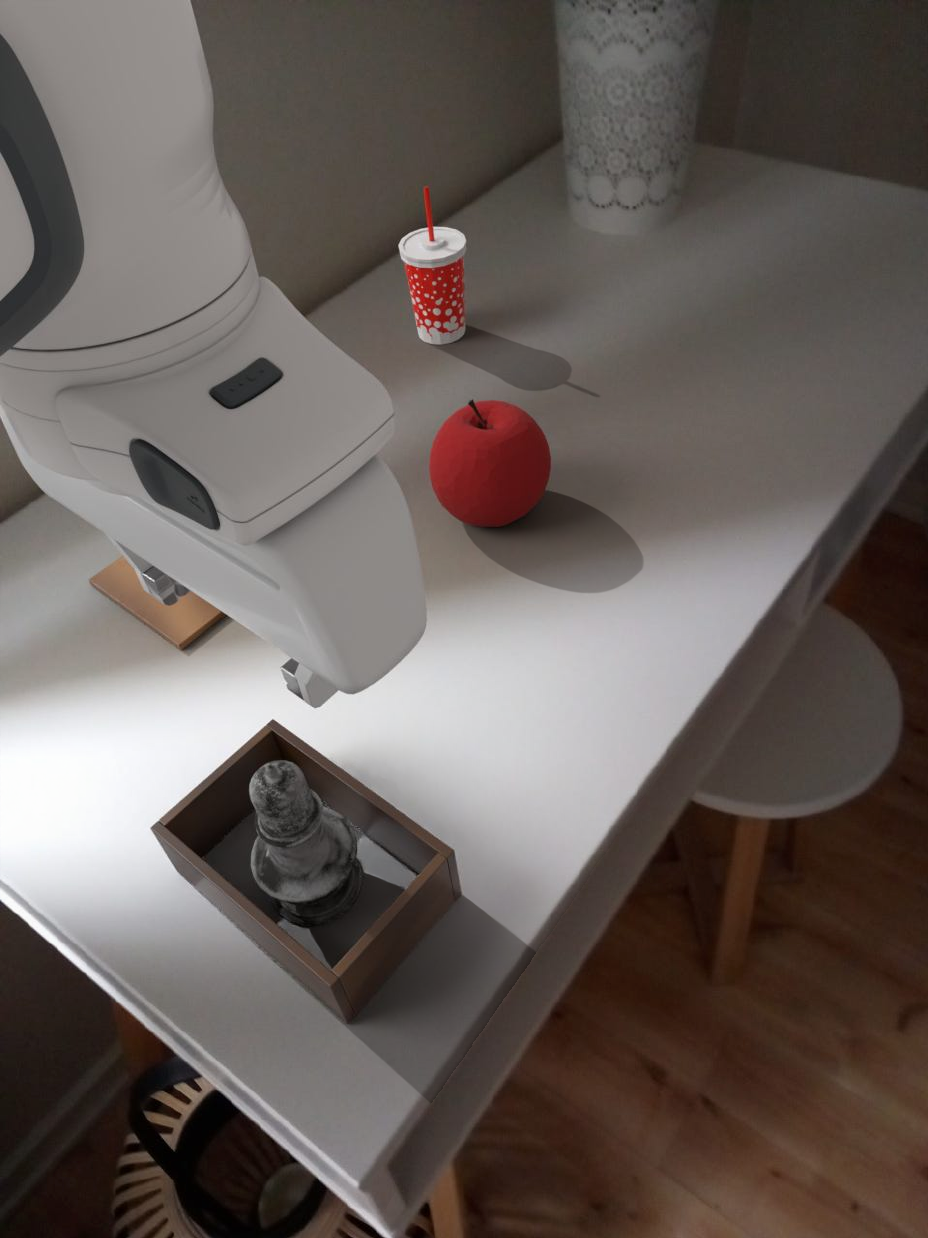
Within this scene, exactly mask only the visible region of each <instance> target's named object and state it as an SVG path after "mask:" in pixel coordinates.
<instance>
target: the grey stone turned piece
mask: <svg viewBox="0 0 928 1238" xmlns="http://www.w3.org/2000/svg"><path fill="white" fill-rule="evenodd" d="M249 794H250V798H251V801H252V803H253V805H254V808H255V810H254V811H255V816H254V827H255V830H256V833H257V837H256V839H255V840H254V843H253V846H252V849H251V853H250V869H251V872H252V873H251V874H252V875H253V879H254V881H255V882H256V884H257V886H258V887H259V888H260V890H262V891H263V892H264V893H265V894H267V895H268V896H269V897H270V898H271V901H272V904H273V906H274V908H275V909H276V911H277V912H278V914H279V915H280V916H281V917H283V918H284V919H285V920H287V921H288V922H290V923H292V924H295V925H298V926H306V927H315V926H321V925H325V924H328V923H331V922H332V921H336V920H337V919H338V918H339V917H341V916H342V915H344V914H345V913H347V911H348V910H349V909H350V908H351V907H352V906H353V904H354V903H355V902H356V899H357V897H358V896H359V894H360V893H361V887H362V882H363V877H362V868H361V865H360V863H359V859H358V857H357V856H358V855H357V854H358V839H357V834H356V832H355V830H354V827H353V824H352V823H351V822H350V821H348V820H347V819H346V818H345V817H344V816H343V815H341V814H340V813H338V812H337V811H335V810H334V809H332V808H331V807H328V806H324V805H323V801H322V800H321V799H320V798H319V796H318V795H317V794H316V793H315V792H314V791H313V790H311V789H310V788H308V785H307V782H306V779H305V777H304V774H303V772H302V771H301V770H300V768H299V767H298V766H297V765H295V764H294V763H292V762H289V761H284V760H278V761H272V762H269V763H267V764H265V765H264V766H262V767H261V768H260V769H259V770H258V771H257V772H256V773H255V774H254V776H253V777H252V779H251V782H250V786H249Z"/></svg>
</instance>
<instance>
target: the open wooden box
mask: <svg viewBox="0 0 928 1238" xmlns="http://www.w3.org/2000/svg"><path fill="white" fill-rule="evenodd" d="M278 760H284V761H289V762H292V763H294V764H295V765H297V766H298V767H299V768H300V770H301V771H302V772H303V774H304V777H305V779H306V782H307V785H308V788H310V789H311V790H313V791H314V792H315V793H316V794H317V795H318V796H319V798H320V799H321V802H322V803H325V804H326V805H327V806H328V807H329V808H330V809H333V810H335V811H337V812H338V813H340V814H341V815H343V816H344V817H345V818H346V819H347V820H348V822H349V823H350V824H351V825H353V826H355V827H356V828H357V829H359V830H360V831H362V833H364V834H365V835H367V836H368V837H369V838H371V840H373V841H375V842H376V843H377V844H379V845H380V846H381V847H382V848H384V849H385V850H386V851H387V852H389V853H391V855H393V856H394V857H396V858H397V859H398V860H400V861H401V862H402V863H403V864H405V865H406V866H408V867H409V868H410V869H412V871H414V872H416V873H417V874H418V875H416V877H415V878H414V879H413V880H412V881H411V882H410V883H409V884H408V886H407V887H406V888H405V889H404V890H403V891H402V892H401V893H400V895H398V896H397V898H395V900H394V901H393V902H392V903H391V904H390V905H389V906H388V908H386V910H385V911H384V912H383V913H382V914H381V915H380V916H379V917H378V918H377V920H375V922H374V923H372V924H371V926H370V927H369V928H368V929H367V930H366V931H365V933H363V935H362V936H361V937H360V938H359V939H358V940H357V941H356V943H355V944H354V945H353V946H352V947H351V948H350V949H349V950H348V951H347V952H346V954H344V956H343V957H342V958H340V960H339V961H338V963H336V964H335V966H334V967H333V968H332V969H331V970H330V969H329V968H328V967H327V966H326V965H325V964H323V962H321V961H320V960H319V959H318V958H317V957H315V956H314V954H312V953H311V952H310V951H309V950H308V949H306V948H305V947H304V946H303V945H302V944H301V943H300V942H299V941H297V940H296V939H295V938H294V937H293V936H291V934H289V933H288V932H287V930H285V929H284V928H282V927H281V926H280V925H279V924H278V923H276V922H275V921H274V919H272V918H271V917H270V916H268V915H267V914H266V913H265V912H264V911H263V910H262V909H261V908H259V907H258V906H257V905H256V904H255V903H254V902H252V900H250V899H249V898H248V897H247V896H245V895H244V894H243V893H242V892H241V891H240V890H239V889H237V887H235V886H234V885H233V884H232V883H231V882H230V881H229V880H227V878H225V877H224V876H223V875H221V874H220V873H219V872H218V871H217V870H216V869H215V868H214V867H212V865H210V864H209V863H208V862H207V861H205V860H204V857H206V856H207V855H208V854H209V853H210V852H211V851H212V850H213V849H214V848H215V847H216V846H217V845H218V844H219V843H221V841H223V840H224V839H225V838H226V837H227V836H228V835H229V834H230V833H231V832H232V831H233V830H235V828H237V827H238V826H239V825H240V824H241V823H242V822H243V821H244V820H245V819H246V818H247V817H248V816H250V815H251V813H252V812H253V811H256V810H255V808H254V805H253V803H252V801H251V798H250V794H249V786H250V782H251V779H252V777H253V776H254V774H255V773H256V772H257V771H258V770H259V769H260V768H261V767H262V766H264V765H265V764H267V763H269V762H272V761H278ZM150 831H151V832H152V835H154V837H155V839H156V840H157V842H158V843H159V845H160V847H161V848H162V850H163V851H164V853H165V854H166V856H167V858H168V860H169V861H170V863H171V864H172V866H173V867H174V869H175V871H176V872H177V873H178V874H179V875H180V876H182V877H183V878H184V879H185V880H186V881H187V882H188V883H189V884H190V885H191V886H193V888H195V889H196V890H197V891H198V892H199V893H200V894H201V895H202V896H204V897H205V898H206V899H207V900H208V901H209V902H210V903H212V905H214V906H215V907H216V908H217V909H218V910H219V911H220V912H221V913H223V914H224V915H225V916H226V917H227V918H228V919H229V920H230V921H231V922H233V923H234V924H235V925H236V926H237V927H238V928H239V929H240V930H242V931H243V932H244V933H245V934H246V936H249V938H251V939H252V941H254V942H255V943H256V944H257V945H258V946H259V947H260V948H262V949H263V950H264V951H265V952H266V953H267V954H268V955H269V956H270V957H271V958H272V959H274V960H275V961H276V962H277V963H278V964H279V965H280V966H281V967H282V968H284V970H286V971H287V972H289V974H290V975H291V976H292V977H294V978H295V980H297V981H298V982H299V983H301V984H302V986H303V987H305V988H306V989H307V990H308V991H309V992H310V993H312V994H313V995H314V996H315V997H316V999H318V1000H319V1001H321V1002H322V1004H324V1006H326V1007H327V1008H328V1009H329V1010H330V1011H332V1012H333V1013H334V1014H335V1015H336V1016H337V1017H338V1018H339V1019H341V1020H342V1021H343V1022H344V1023H345V1024H346V1025H349V1024H350V1023H351V1022H352V1020H353V1019H355V1017H356V1016H357V1015H358V1014H359V1013H360V1011H362V1009H363V1008H364V1007H365V1006H366V1005H367V1003H368V1002H369V1001H370V1000H371V999H372V998H373V996H374V995H375V994H377V992H378V991H379V989H380V988H381V987H382V986H383V985H384V984H385V983H386V981H387V980H388V979H389V978H390V977H391V976H392V975H393V973H394V972H395V971H396V970H397V969H398V968H399V967H400V965H401V964H402V963H403V962H404V961H405V960H406V958H407V957H408V956H409V955H410V954H411V953H412V952H413V951H414V950H415V948H416V947H417V946H418V945H419V943H420V942H422V940H423V939H424V938H425V937H426V936H427V934H428V933H430V931H431V929H433V928H434V927H435V926H436V924H437V923H438V922H439V921H440V920H441V918H442V917H443V916H444V915H445V914H446V912H448V911H449V909H450V908H451V907H452V906H453V905H454V904H455V902H456V901H457V900H458V899H459V898H460V897H461V895H462V892H463V891H462V887H461V886H462V885H461V881H460V875H459V869H458V864H457V858H456V852H455V849H453V848H452V847H451V846H449V845H448V844H447V843H445V842H444V841H442V840H441V839H439V838H438V837H437V836H435V835H434V834H433V833H431V832H430V831H428V830H427V829H426V828H424V827H423V826H422V825H420V824H419V823H418V822H417V821H415V820H413V819H412V818H411V817H409V816H408V815H406V814H405V813H404V812H402V811H401V810H400V809H398V808H397V807H395V806H394V805H393V804H391V803H390V802H389V801H387V800H385V798H383V797H381V796H380V795H379V794H377V793H376V792H375V791H373V790H372V789H370V788H369V787H368V786H367V785H365V784H363V783H362V782H360V781H359V780H358V779H357V778H355V777H354V776H352V774H350V773H348V772H347V771H346V770H344V769H343V768H342V767H340V766H338V765H337V764H336V763H334V762H333V761H331V760H330V759H329V758H328V757H326V756H325V755H323V754H322V753H321V752H320V751H318V750H317V749H315V748H313V746H311V745H310V744H308V743H307V742H305V741H304V740H303V739H301V738H300V737H299V736H297V735H296V734H295V733H293V732H292V731H290V730H289V729H287V727H285V726H283V725H282V724H281V723H280V722H278V721H276V720H275V719H274V718H272V719H271V720H270V721H269V722H268V723H266V725H264V726H263V727H262V728H261V729H259V731H257V732H256V733H255V734H254V735H253V736H251V738H249V739H248V740H247V741H246V742H245V743H244V744H243V745H241V747H239V748H238V749H237V750H236V751H235V752H233V753H232V755H230V756H229V757H228V758H226V759H225V761H223V762H222V763H221V764H220V765H219V766H218V767H217V768H215V769H214V770H213V771H212V772H211V773H210V774H209V775H208V776H207V777H205V778H204V779H203V780H201V782H200V783H199V784H197V785H196V786H195V787H194V788H193V789H192V790H191V791H190V792H188V793H187V795H185V796H184V797H183V798H182V799H181V800H179V801H178V802H177V803H175V805H174V806H173V807H172V808H171V809H169V810H168V811H167V812H166V813H165V814H163V815H162V816H161V817H160V818H159V819H158V821H156V822H155V823H154V824H153V825H152V826H150Z"/></svg>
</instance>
